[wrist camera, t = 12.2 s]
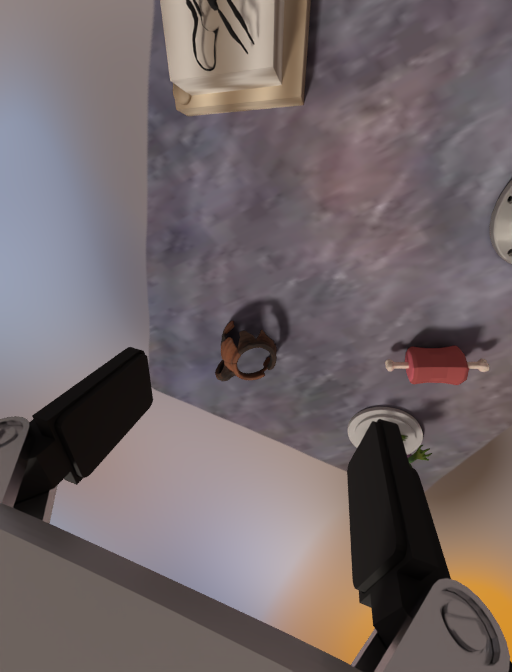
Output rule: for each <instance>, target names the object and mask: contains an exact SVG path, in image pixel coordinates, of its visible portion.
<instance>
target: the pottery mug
mask: <svg viewBox="0 0 512 672" xmlns="http://www.w3.org/2000/svg"><path fill="white" fill-rule="evenodd" d="M232 328H234V321H231V322H230V323H229V324H228V325H227V326H226V327H225V329H224V331H223V334H222V341H221V356H222V359H223V360H222V361H221V362H220V364H219V365H218V367H217V369H216V372H215V374H216V377H217V379H218V380H221V381H227V380H229V379H230V378H231V377H233V376H237V377H239V378H241V379H244V380H256V379H259V378H262V377H264V376H265V373H264V371H265V370H267V369H268V370H271V369H273V368H274V366H275V363H276V358H277V357H276V352H277V349H276V344H274V341H273V340H272V339H270V338H269V337H268V336H267V335H266V334H265V332H264V331H263V330H261V331H260V334H259V336H258V337H257V339H255V337H254V336H253V335H252V334H250V333H248V332H247V331H241V332H239V334H240V339H239V344H238V347H237V346H236V345H235V344H234V342H233V339H232V338H230V337H228V338H227V337H226V335H227V333H228V332H229V331H230V330H231V329H232ZM259 347H260V348H264V349H266V350H268V351H269V352H270V355H271V358H269V357H268V358H267V359H266V360H265V362H264V363H263V366H264V368H263V369H262V370H260V371H257V372H254V373H242V372H241V371H239V370H238V368H237V362H238V359H239V358H240V356H241V354H243V353H244V352H246V351H247V350H249V349H252V348H259Z"/></svg>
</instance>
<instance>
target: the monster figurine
mask: <svg viewBox="0 0 512 672" xmlns="http://www.w3.org/2000/svg"><path fill="white" fill-rule="evenodd" d="M378 419H382V420H386V421H389V422H393V423H396V424H397V425H398V426H399V429H400V433H401V436H402V440H403V443H404V447H405V450H406V454H409V453H411V452H413V451H414V450H416V449H417V448H418V447H419V448H418V450H417V451H416V452H415V453H414V454H413V455H411V454H410V455H407V457H408V461H409V464H410V463H412V462H414V461H415V460H416V459H421V460H429V459H427V458H426V457H427V456H430V455H431V454H432V453H430V454H428V455H425V454H424V453H425V452H426V451H428V450H429V449H430V448H429V449H426V450H421V449H420V448H421V446H423V445H421V446H420V444H421V442H422V439H423V433H422V430H421V427H420V425H419V423H418V422H417V420H416V419H415V418H414V417H412V416H411V415H410V414H408V413H406V412H404V411H402V410H399V409H395V408H391V407H373V408H368V409H365V410H362V411H360V412H358V413H357V414H355V415H354V416H353V417H352V418H351V420H350V421H349V424H348V436H349V439H350V440H351V442H352V443H353V445H354V446H356V447H357V448H358V446H359V444H360V442H361V440H362V439H363V437H364V435H365V433H366V431H367V429H368V428H369V426H370V424H371V422H372V421H375V422H377V420H378ZM410 467H411V468H412V466H411V464H410Z"/></svg>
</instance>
